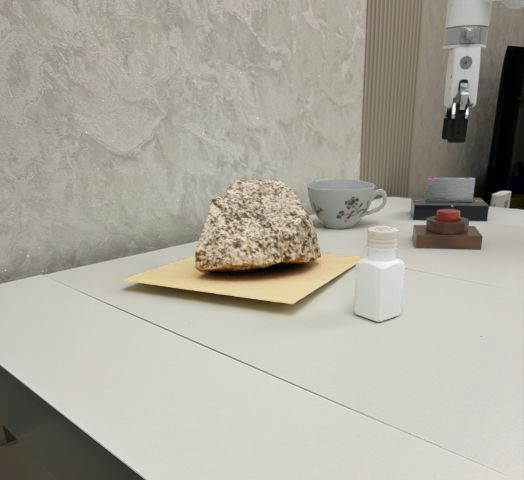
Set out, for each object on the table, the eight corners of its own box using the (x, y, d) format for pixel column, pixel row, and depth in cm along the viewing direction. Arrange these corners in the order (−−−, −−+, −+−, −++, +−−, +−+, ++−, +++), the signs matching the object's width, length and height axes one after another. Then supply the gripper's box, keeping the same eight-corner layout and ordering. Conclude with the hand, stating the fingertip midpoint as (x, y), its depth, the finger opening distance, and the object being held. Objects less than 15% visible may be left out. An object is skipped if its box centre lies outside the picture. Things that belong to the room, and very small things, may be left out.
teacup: (307, 233, 100) (307, 188, 97) (305, 220, 111) (306, 179, 108) (390, 232, 99) (393, 186, 96) (380, 219, 111) (383, 178, 107)
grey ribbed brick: (470, 200, 111) (474, 176, 109) (472, 202, 110) (475, 177, 108) (425, 200, 113) (427, 176, 111) (425, 201, 111) (428, 177, 109)
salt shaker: (351, 314, 61) (355, 228, 57) (375, 306, 63) (381, 223, 59) (378, 324, 58) (385, 234, 54) (403, 316, 60) (411, 229, 56)
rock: (226, 242, 93) (270, 155, 85) (325, 318, 90) (382, 234, 81) (115, 277, 70) (161, 161, 61) (244, 381, 66) (311, 274, 58)
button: (457, 219, 90) (458, 209, 90) (460, 224, 87) (461, 212, 87) (434, 219, 91) (436, 208, 90) (437, 223, 88) (438, 212, 87)
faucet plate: (477, 211, 117) (479, 195, 116) (488, 223, 105) (490, 206, 104) (409, 210, 120) (411, 195, 118) (413, 221, 108) (414, 205, 107)
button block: (472, 238, 93) (476, 215, 92) (480, 250, 86) (484, 224, 84) (412, 237, 95) (414, 214, 93) (415, 248, 88) (417, 223, 86)
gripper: (496, 34, 91) (480, 144, 98) (478, 44, 106) (466, 138, 114) (449, 35, 92) (437, 143, 99) (438, 45, 108) (428, 138, 115)
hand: (452, 140), depth 106 cm, fingers open, 9 cm apart
